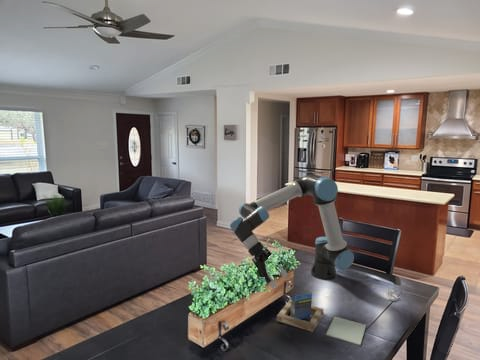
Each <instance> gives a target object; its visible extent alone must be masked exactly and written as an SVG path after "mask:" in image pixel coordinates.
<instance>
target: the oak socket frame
mask: <svg viewBox="0 0 480 360" xmlns="http://www.w3.org/2000/svg"><path fill="white" fill-rule="evenodd" d="M292 300H293V299H289V300H288V301H287V302H286V304H285V305H284V306H283V307H282V309H281V310H280V311H279V312H278V314H277V315H276V321H277V322H278V323H279V322H280V323H281V324H282V323H283V324H286V325H289V326H291V327H296V328H299V329H303V330H306V331H309V332H312V333H313V332H314V331H315V329H316V327H317V325H318V324H319V322H320V320H321V319H322V316H323V314H324V309H325V308H322V307H318V306H314V305H311V314H313V316H311V319H310V321H307V320H303V319H297V318H294V317H290V315H289V314H290V313H291V301H292Z"/></svg>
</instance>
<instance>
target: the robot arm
mask: <svg viewBox="0 0 480 360" xmlns="http://www.w3.org/2000/svg"><path fill="white" fill-rule="evenodd" d="M338 192H339V188H338V185H337V183H336V181H335V180H334V179H332V178H331V177H330V178H329V177H327V176H322V175H318V174H307V175H305V176H302V177H300V178H298V179H296V180H293V181H292V183H291V184H288V185H287V186H285V187H283V188H280V189H278V190H275V191H274V192H271V193H270V194H267V195H265V196H263V197H261V198H258V199H257V200H254V201H253V202H250V203H247V202H245V203H242V204H241V205H239V208H238V212H239V215H240V216H238V217H236V218H235V219H234V220H232V221H231V223H230V224H229V228H230V229H231V230H232V232H233V234H234V235H235V236H236V238H238V240H239V241H240V243H241V244H242V246H244V248H245V249H246V250H247V251H248V253H249V254H250V256H251V257H252V258H251V260H252V262H253V264H254V266H255V268H256V267H257V268H258V271H257V274H258V276H259V278H260V277H265V278H264V279H265V280H266V283H268V284H269V286H270V287H271V288H272V290H273V289H275V288H277V287H278V284H277V283H276V281H275V280H274V278H272V276H271V275H270V274H269V273H268V272H267V267H266V262H267V261H266V260H267V259H268V257H269V256H270V255H271V254H273V253H272V252H271V251H270V250H269V249H268V248H265V246H264V245H263V243H262V242H261V241H259V238H258V237H257V236H256V234H255V233H254V232H253V231H255V229H257V228H258V227H260V226H261V225H263V223H265V222H266V221H267V220H268V219H270V214H269V210H271V209H274V208H275V207H277V206H279V205H282V204H284V203H286V202H288V201H291V200H293V199H295V198H297V197H298V198H301V197H303V196H308V195H309V196H312V199H313V203H314V205H315V206H317V207H318V210H319V214H320V218H321V222H322V226H323V230H324V234H325V236H319V237H317V238H316V239H315V241H314V242H315V243H314V244H315V245H314V248H315V249H314V261H313V264H312V265H311V269H310V274H311V276H313V277H315V278H317V279H321V280H333V279H335V278H336V277H337V274H338V272H337V268H338V269H339V270H346V269H348V268H350V267H351V266H352V265H353V262H354V259H355V255H354V253H353V251H352V250H351V249H349V247H348V243H347V241H346V240H345V239H344V238H343V234H342V230H341V225H340V222H339V217H338V213H337V209H336V206H335V205H336V204H335V201H336V200H337V196H338V195H337V194H338ZM264 248H265V249H264ZM281 264H282V261H281V260H280V262H279V267H280V269H281V274H280V275H281V276H282V278H286V277H288V276H289V274H288V272H287V271H286V270H285V269H284V267H283V266H282V265H281Z"/></svg>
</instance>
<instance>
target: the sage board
mask: <svg viewBox="0 0 480 360" xmlns="http://www.w3.org/2000/svg"><path fill="white" fill-rule="evenodd" d="M366 329H367V325H366V324H364V323H361V322H357V321H352V320H350V319H346V318H343V317H339V316H334V317H333V319H332V321H331V324H330V326H329V328H328V330H327V332H326V333H325V336H327V337H331V338H334V339H337V340H341V341H344V342H347V343H350V344H353V345H357V346H361V344H362V341H363V337H364V334H365V331H366Z"/></svg>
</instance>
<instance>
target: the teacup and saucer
mask: <svg viewBox="0 0 480 360" xmlns="http://www.w3.org/2000/svg"><path fill="white" fill-rule="evenodd" d="M385 295H386V296H387V297H386V296H385ZM381 297H382V298H383V299H385V300H388V301H393V302H394V301H398V300H399V296H397V295H396V294H394V290H393V289H391V288H387V289H386V292H383V293H382V294H381Z"/></svg>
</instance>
